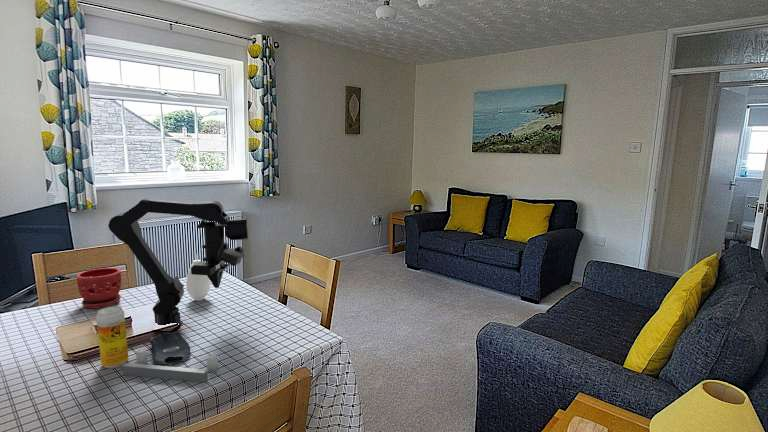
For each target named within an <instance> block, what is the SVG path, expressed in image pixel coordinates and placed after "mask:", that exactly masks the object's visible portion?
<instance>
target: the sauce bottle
mask: <svg viewBox="0 0 768 432" xmlns="http://www.w3.org/2000/svg"><path fill="white" fill-rule="evenodd" d="M199 262H202V260H201V259H198V253H196V254H195V260H193V261H192V263H191V265H190V267H189V269H188V272H187V274H186V275H187V276H186V281H185V282H186V290H187V293H188V295H189V296H190V298H191V299H193V300H194V301H198V302H200V301H203V300H204V299H205V298H206V297H207V296H208V295H209V292H210V288H211V281H210V279H209V278H208V276H207V275H194V274H191V267H192V266H193V265H195V264H197V263H199Z"/></svg>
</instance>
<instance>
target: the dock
mask: <svg viewBox="0 0 768 432" xmlns="http://www.w3.org/2000/svg"><path fill="white" fill-rule="evenodd" d="M135 358H136V363H132V362H126V363H125V364H123V365H121V371H122V376H128V377H129V376H133V377H141V378H154V379H161V380H162V379H163V380H165V379H166V380H171V381H172V380H173V381H183V382H184V381H185V382H193V383H196V382H197V383H206V382H207V381H208V376H209V375H208V373H215V372H217V371H218V370H219V367H218V355H216V354H211V355H208V356H207V358H206V360H207V369H203V368H202V369H201V368H200V369H198V368H189V367H188V368H187V367H178V366H169V365H157V364H156V365H155V364H154V365H153V364H148V353H147V349H145V348H141V349H138V350H136V351H135Z"/></svg>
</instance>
